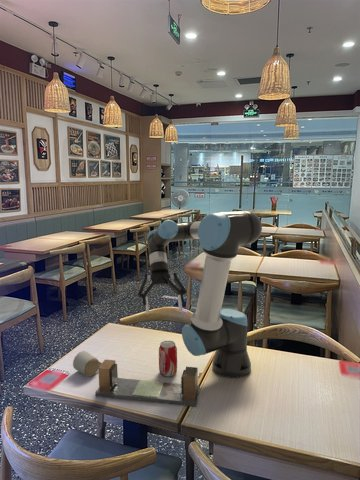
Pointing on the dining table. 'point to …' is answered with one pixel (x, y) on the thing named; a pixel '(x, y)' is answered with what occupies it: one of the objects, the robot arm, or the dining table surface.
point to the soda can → (167, 358)
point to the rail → (148, 387)
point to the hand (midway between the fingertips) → (164, 312)
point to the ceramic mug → (86, 363)
